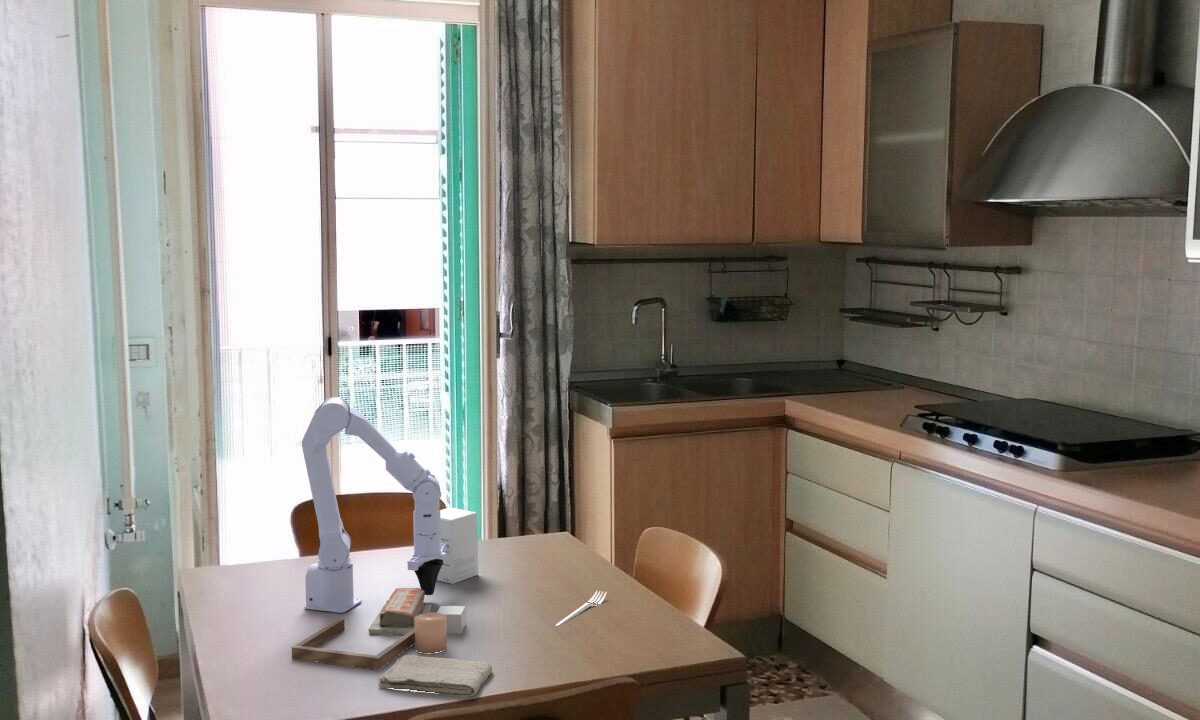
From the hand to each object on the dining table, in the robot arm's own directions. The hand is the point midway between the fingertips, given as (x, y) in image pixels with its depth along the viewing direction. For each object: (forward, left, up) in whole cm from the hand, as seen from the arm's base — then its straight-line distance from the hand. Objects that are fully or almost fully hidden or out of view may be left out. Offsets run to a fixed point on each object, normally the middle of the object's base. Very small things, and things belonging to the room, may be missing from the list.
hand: (427, 594), depth 241 cm
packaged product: (0, -12, -2) cm, 12 cm away
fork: (+33, +4, -2) cm, 33 cm away
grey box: (+12, -14, -2) cm, 19 cm away
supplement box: (-3, +18, -2) cm, 18 cm away
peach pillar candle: (+13, -25, -2) cm, 28 cm away
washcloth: (+21, -39, -2) cm, 44 cm away
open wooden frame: (0, -29, -2) cm, 29 cm away
